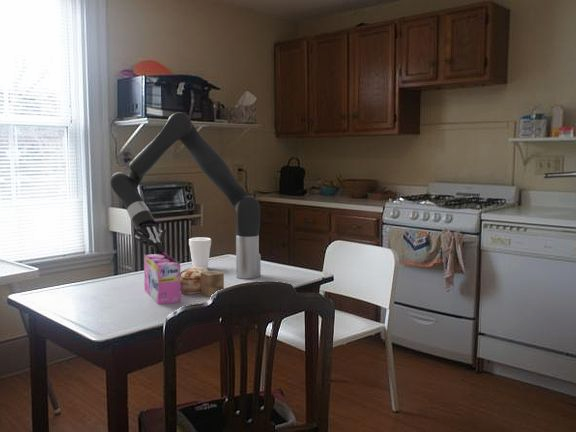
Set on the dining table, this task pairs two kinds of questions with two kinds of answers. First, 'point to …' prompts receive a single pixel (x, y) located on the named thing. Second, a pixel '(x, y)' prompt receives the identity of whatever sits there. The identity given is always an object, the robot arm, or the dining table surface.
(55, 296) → the dining table surface
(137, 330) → the dining table surface
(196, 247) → the foam cup
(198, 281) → the trinket box
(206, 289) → the walnut block
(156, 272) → the gum box
